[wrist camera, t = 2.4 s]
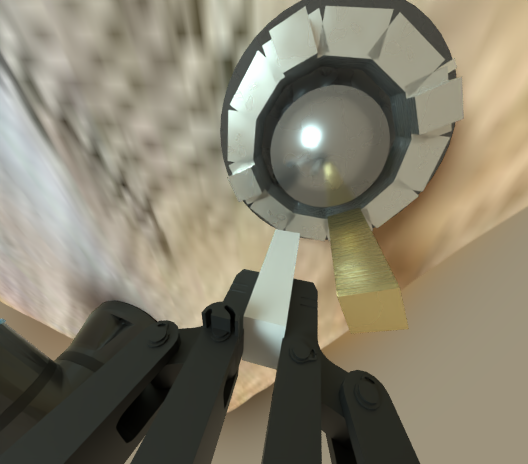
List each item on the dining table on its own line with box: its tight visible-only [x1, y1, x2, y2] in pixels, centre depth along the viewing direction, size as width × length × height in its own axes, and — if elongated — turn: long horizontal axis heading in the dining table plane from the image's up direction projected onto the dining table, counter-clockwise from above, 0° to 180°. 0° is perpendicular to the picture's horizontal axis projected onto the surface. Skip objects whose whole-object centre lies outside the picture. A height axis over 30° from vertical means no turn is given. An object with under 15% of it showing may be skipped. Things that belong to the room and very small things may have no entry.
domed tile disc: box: [227, 6, 464, 334], centre depth 12 cm, size 14×14×12 cm
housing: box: [220, 0, 457, 240], centre depth 16 cm, size 18×18×7 cm
